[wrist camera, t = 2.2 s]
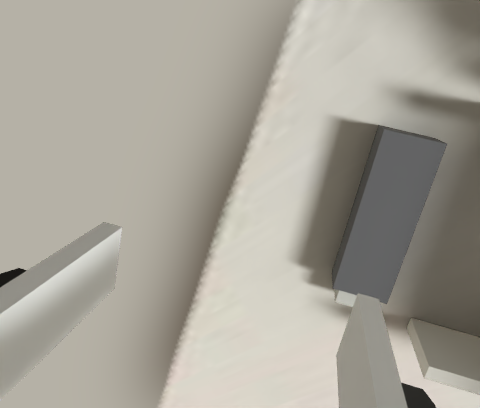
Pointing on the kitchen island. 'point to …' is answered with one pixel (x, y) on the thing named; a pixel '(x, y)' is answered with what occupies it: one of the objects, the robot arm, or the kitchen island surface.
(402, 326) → the kitchen island surface
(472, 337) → the white u-shaped bracket
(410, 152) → the dark grey block
